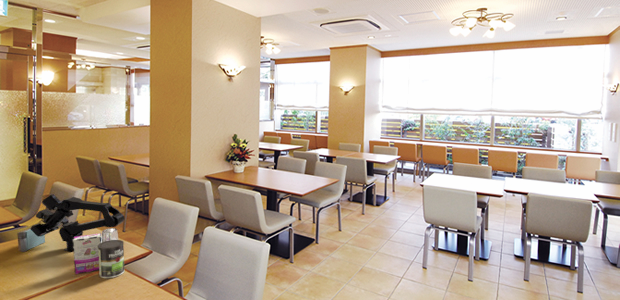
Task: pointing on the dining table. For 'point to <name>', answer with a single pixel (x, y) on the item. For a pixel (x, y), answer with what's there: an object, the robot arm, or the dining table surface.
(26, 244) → the hinge leaf
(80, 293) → the dining table surface
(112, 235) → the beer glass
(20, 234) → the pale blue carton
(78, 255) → the candy bar box
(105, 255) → the coffee can
